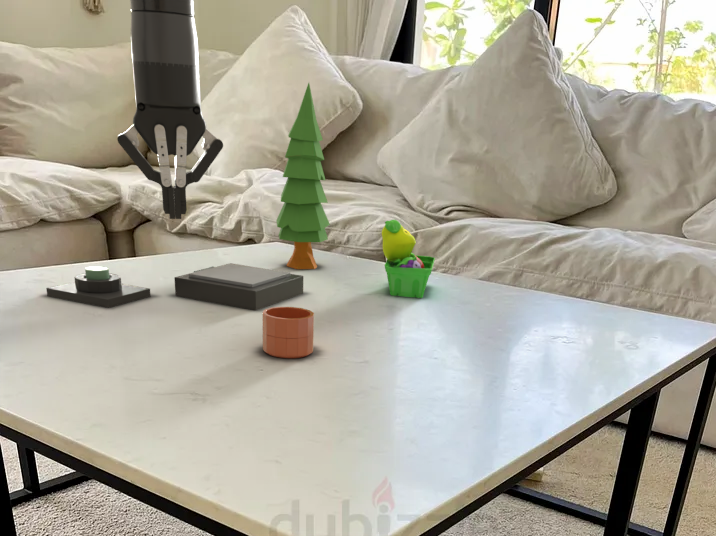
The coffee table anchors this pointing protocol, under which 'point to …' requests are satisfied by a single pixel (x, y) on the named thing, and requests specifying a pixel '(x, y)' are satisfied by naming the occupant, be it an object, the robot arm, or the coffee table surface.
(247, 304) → the scale
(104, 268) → the button
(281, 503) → the coffee table surface
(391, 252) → the fruit basket
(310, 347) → the terracotta cup
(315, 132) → the decorative tree
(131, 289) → the dark grey button base
